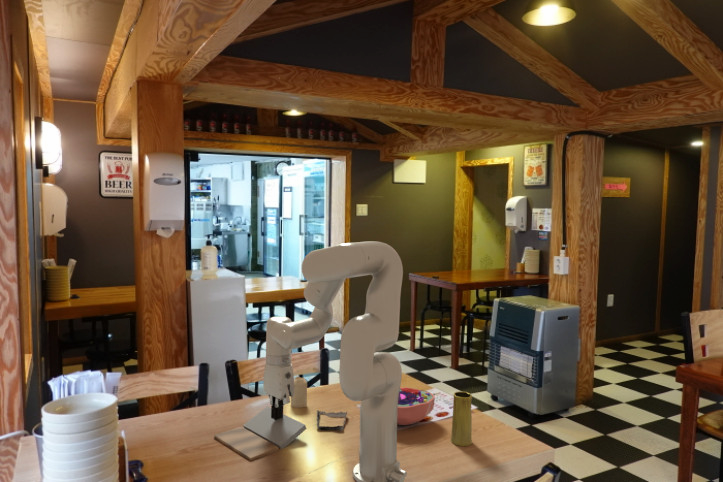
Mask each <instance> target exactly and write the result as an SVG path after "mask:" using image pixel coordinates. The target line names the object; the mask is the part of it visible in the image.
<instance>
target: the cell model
mask: <svg viewBox="0 0 723 482" xmlns="http://www.w3.org/2000/svg"><path fill="white" fill-rule="evenodd" d="M435 399H436V397H435V395H434V394H433V393H431V392H430V391H427V390H424V389H418V388H417V389H416V388H412V387H400V390H399V396H398V412H397V425H399V426H408V425H412V424H413V425H414V424H416V423H417V422H420V421H422V420H424V419H425V418H426V417H427V416H428V415H429V414H431V412H432V411H433V409H434V407H435Z"/></svg>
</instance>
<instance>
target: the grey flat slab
mask: <svg viewBox="0 0 723 482" xmlns="http://www.w3.org/2000/svg"><path fill="white" fill-rule="evenodd" d="M242 427H243V428H245V429H247V430H248V431H250V432H252V433H254V434H256V435H257V436H259V437H261V438H263V439H264V440H266V441H268V442H270V443H272V444H273V445H275V446H277V447H278V449H280V450H282V449H285V448H286V447H288V445H290V444H291V443H293V441H295V440H296V439H297V438H298V437H299V436H300V435H301V434H303V432H305V431H306V430H307V427H306V424H304V423H303V422H301V421H298V420H297V419H294V418H292V417H290V416H288V415H286V414H284V413H283V417H282V418H280V419H277V420H274V419H272V418H271V407H270V406H266V407H264V408H263V409H262V410H261V411H260V412H258V413H257V414H255V415H254V416H253V417H252V418H250V419H249V420H248V421H247V422H245V423H244V424H242Z"/></svg>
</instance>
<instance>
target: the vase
mask: <svg viewBox="0 0 723 482" xmlns="http://www.w3.org/2000/svg"><path fill="white" fill-rule="evenodd" d="M472 399H473V396H472V394H471V393H470V392H467V391H461V390H460V391H456V392H453V401H452V402H453V403H452V404H453V406H452V422H451V435H450V441H451V443H452V444H454V445H455V446H459V447H468V446H471V445H472V444H473V441H472V440H473V439H472V429H473V428H472V426H473V425H472V424H473V422H472V420H473V419H472V417H473V416H472Z"/></svg>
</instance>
